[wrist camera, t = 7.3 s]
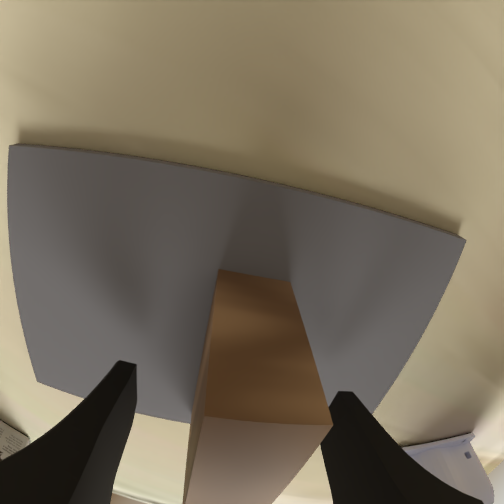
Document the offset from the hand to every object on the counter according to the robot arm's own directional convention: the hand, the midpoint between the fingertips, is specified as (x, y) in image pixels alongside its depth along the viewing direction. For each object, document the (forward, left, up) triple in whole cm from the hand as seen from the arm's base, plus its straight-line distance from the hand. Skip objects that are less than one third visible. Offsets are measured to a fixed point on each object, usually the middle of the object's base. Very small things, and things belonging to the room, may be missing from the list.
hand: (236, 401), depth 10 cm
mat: (+1, -1, -3) cm, 3 cm away
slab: (0, 0, -2) cm, 2 cm away
